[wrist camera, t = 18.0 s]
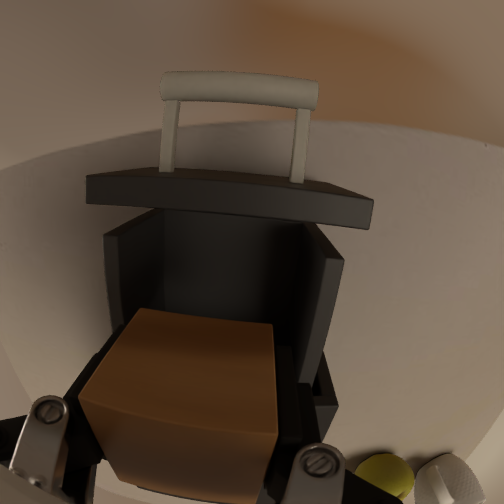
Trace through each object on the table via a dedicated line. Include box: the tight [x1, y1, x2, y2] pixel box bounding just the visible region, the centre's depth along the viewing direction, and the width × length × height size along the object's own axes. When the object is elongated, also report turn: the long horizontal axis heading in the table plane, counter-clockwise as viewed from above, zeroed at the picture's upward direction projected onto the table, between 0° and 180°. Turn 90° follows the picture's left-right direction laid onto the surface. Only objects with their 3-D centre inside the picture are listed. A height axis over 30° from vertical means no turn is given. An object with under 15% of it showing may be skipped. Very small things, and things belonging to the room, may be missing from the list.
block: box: [78, 308, 278, 504], centre depth 8 cm, size 4×4×4 cm
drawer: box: [85, 71, 374, 387], centre depth 15 cm, size 18×11×8 cm, turn 174°
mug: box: [414, 454, 486, 504], centre depth 24 cm, size 15×11×13 cm
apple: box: [355, 453, 414, 501], centre depth 24 cm, size 8×8×10 cm
